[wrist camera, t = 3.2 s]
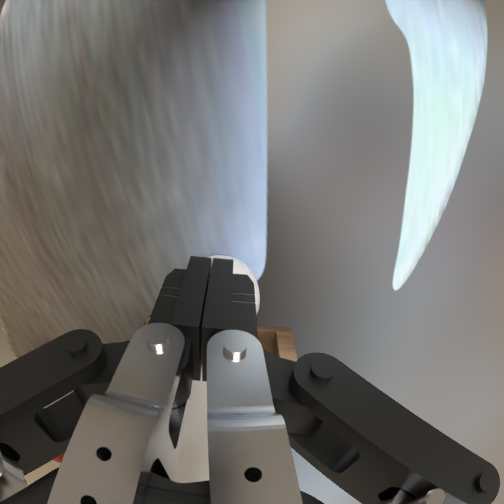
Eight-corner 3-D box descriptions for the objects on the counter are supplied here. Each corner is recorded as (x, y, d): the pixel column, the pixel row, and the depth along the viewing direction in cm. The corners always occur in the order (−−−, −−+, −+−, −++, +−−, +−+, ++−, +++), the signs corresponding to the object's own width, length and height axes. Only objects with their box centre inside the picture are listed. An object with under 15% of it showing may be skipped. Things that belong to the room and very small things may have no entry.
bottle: (253, 246, 29) (284, 617, 2) (261, 308, 33) (286, 591, 6) (176, 255, 29) (93, 586, 3) (193, 314, 33) (160, 583, 6)
